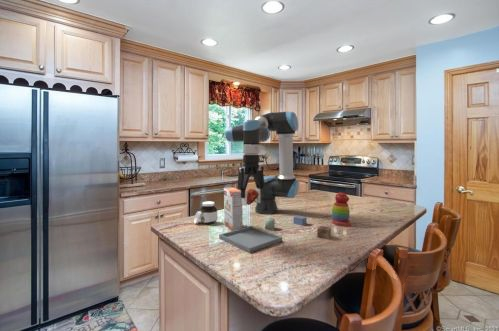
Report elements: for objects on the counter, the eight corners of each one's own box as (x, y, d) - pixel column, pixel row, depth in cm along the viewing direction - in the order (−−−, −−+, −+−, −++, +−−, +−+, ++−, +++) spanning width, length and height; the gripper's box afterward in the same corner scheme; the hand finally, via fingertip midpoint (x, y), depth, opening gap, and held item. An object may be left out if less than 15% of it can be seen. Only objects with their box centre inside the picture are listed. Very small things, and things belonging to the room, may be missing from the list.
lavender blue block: (293, 223, 149) (293, 216, 149) (297, 222, 152) (297, 215, 152) (302, 225, 145) (302, 218, 145) (306, 224, 148) (306, 217, 147)
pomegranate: (259, 207, 125) (244, 193, 128) (267, 196, 122) (251, 182, 125) (251, 212, 119) (235, 197, 122) (259, 201, 115) (243, 186, 118)
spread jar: (219, 223, 150) (219, 202, 149) (203, 227, 141) (203, 206, 140) (206, 218, 158) (206, 199, 157) (190, 223, 150) (190, 202, 149)
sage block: (263, 228, 140) (263, 219, 140) (269, 226, 143) (269, 217, 143) (269, 230, 136) (269, 221, 136) (276, 228, 140) (276, 219, 139)
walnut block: (317, 237, 127) (317, 228, 126) (320, 234, 131) (320, 225, 130) (327, 239, 124) (327, 230, 124) (330, 236, 128) (330, 227, 128)
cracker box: (223, 224, 147) (223, 187, 145) (233, 223, 149) (233, 186, 147) (231, 232, 134) (231, 191, 132) (242, 230, 136) (242, 190, 134)
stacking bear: (352, 227, 143) (353, 194, 141) (332, 225, 145) (333, 193, 143) (348, 221, 153) (349, 191, 152) (330, 220, 155) (331, 190, 154)
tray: (219, 238, 125) (219, 234, 125) (250, 229, 138) (250, 226, 138) (249, 253, 108) (249, 248, 108) (282, 241, 121) (282, 237, 121)
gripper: (239, 155, 110) (239, 208, 112) (272, 154, 124) (272, 201, 126) (228, 154, 116) (228, 205, 118) (261, 153, 129) (261, 199, 131)
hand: (251, 203), depth 122 cm, fingers closed on pomegranate, 7 cm apart
